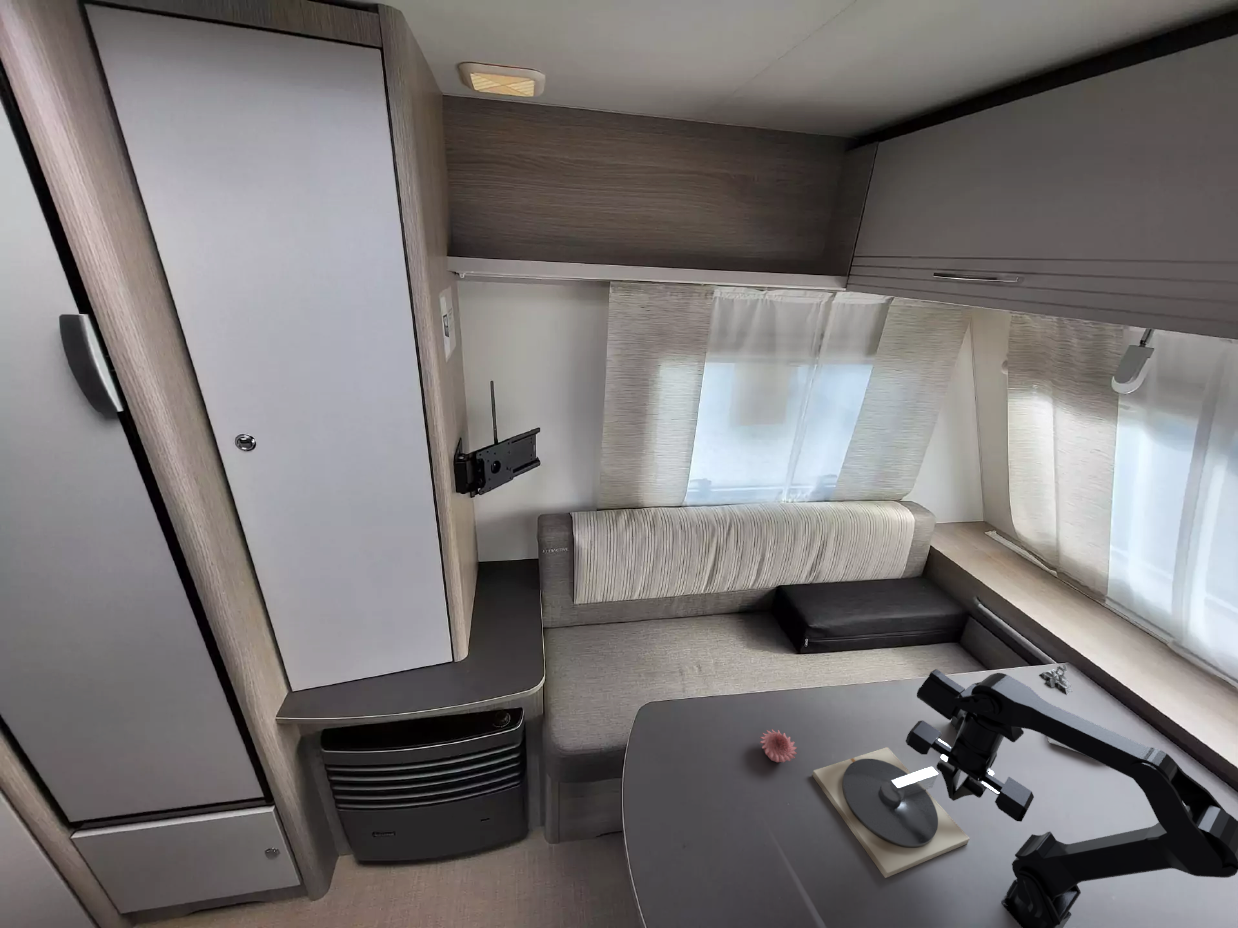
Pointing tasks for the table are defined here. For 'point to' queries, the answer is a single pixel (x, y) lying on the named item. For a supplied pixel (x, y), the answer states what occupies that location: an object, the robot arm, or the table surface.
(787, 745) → the flower
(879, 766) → the dial
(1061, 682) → the grey irregular lump
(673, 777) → the table surface
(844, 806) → the dial board
